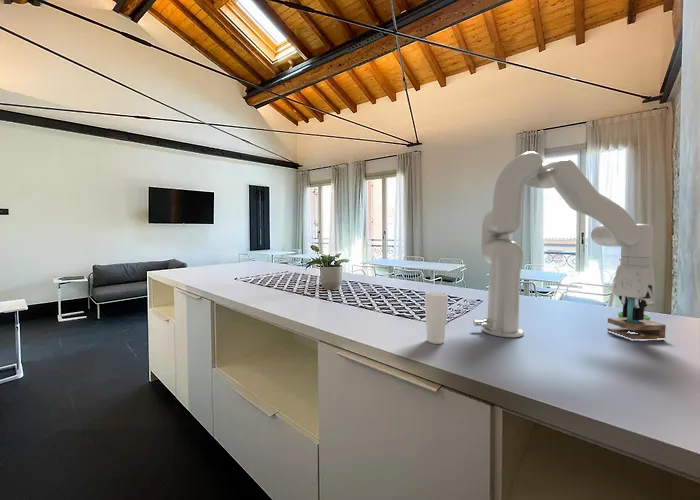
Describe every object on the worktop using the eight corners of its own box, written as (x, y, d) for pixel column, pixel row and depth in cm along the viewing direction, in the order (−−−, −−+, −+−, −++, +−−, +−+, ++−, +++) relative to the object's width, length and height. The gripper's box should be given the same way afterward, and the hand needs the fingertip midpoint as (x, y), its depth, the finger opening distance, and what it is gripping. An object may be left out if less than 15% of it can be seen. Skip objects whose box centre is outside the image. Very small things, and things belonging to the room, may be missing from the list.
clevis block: (632, 341, 101) (632, 325, 100) (607, 332, 110) (607, 318, 109) (664, 340, 101) (665, 325, 101) (637, 332, 110) (638, 317, 110)
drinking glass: (447, 339, 102) (448, 292, 101) (446, 346, 95) (447, 296, 95) (425, 337, 104) (426, 291, 103) (423, 343, 98) (423, 294, 97)
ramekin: (636, 323, 122) (637, 311, 121) (657, 330, 113) (657, 318, 112) (611, 322, 123) (611, 311, 122) (629, 329, 114) (630, 317, 113)
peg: (632, 329, 104) (634, 298, 103) (623, 326, 107) (625, 296, 106) (641, 328, 104) (642, 298, 103) (632, 326, 107) (633, 296, 106)
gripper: (603, 260, 112) (600, 312, 113) (649, 264, 96) (646, 325, 97) (623, 260, 112) (620, 312, 113) (673, 264, 96) (669, 325, 97)
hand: (632, 318), depth 105 cm, fingers closed on peg, 2 cm apart
